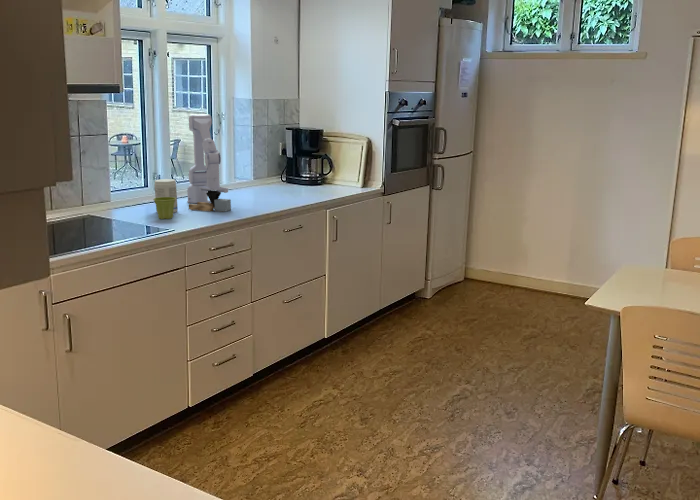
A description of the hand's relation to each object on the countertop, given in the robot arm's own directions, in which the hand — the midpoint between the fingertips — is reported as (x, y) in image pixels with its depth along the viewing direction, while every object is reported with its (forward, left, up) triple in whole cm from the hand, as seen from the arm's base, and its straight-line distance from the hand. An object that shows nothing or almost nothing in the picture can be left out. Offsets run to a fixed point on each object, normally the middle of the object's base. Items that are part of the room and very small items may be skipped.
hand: (214, 207), depth 324 cm
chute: (-5, 0, -1) cm, 5 cm away
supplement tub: (-17, -14, -2) cm, 22 cm away
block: (+5, 0, -1) cm, 5 cm away
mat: (+4, 0, -1) cm, 4 cm away
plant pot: (-8, -27, -2) cm, 28 cm away
